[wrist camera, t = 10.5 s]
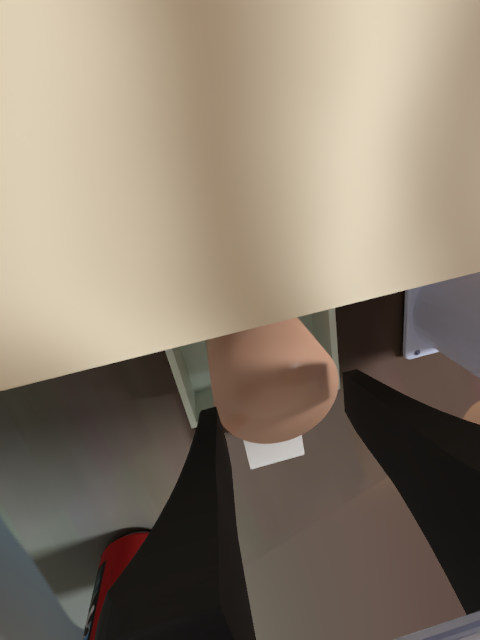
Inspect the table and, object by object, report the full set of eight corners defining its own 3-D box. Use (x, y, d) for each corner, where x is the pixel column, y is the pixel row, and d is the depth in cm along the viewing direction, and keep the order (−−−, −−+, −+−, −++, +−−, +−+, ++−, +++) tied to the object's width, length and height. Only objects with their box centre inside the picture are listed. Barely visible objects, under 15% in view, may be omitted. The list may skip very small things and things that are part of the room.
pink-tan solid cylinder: (280, 271, 20) (334, 322, 13) (290, 346, 22) (341, 425, 15) (193, 292, 20) (199, 356, 12) (213, 366, 22) (228, 456, 15)
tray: (304, 227, 20) (330, 237, 16) (322, 409, 26) (343, 443, 23) (148, 263, 19) (141, 281, 16) (206, 440, 26) (209, 481, 22)
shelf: (357, -41, 15) (786, -593, 4) (362, 213, 20) (568, 249, 9) (-24, 23, 14) (-742, -527, 3) (84, 277, 19) (-48, 403, 8)
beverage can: (86, 548, 29) (26, 772, 18) (148, 513, 28) (125, 722, 17) (133, 578, 31) (107, 787, 21) (190, 547, 31) (194, 744, 20)
